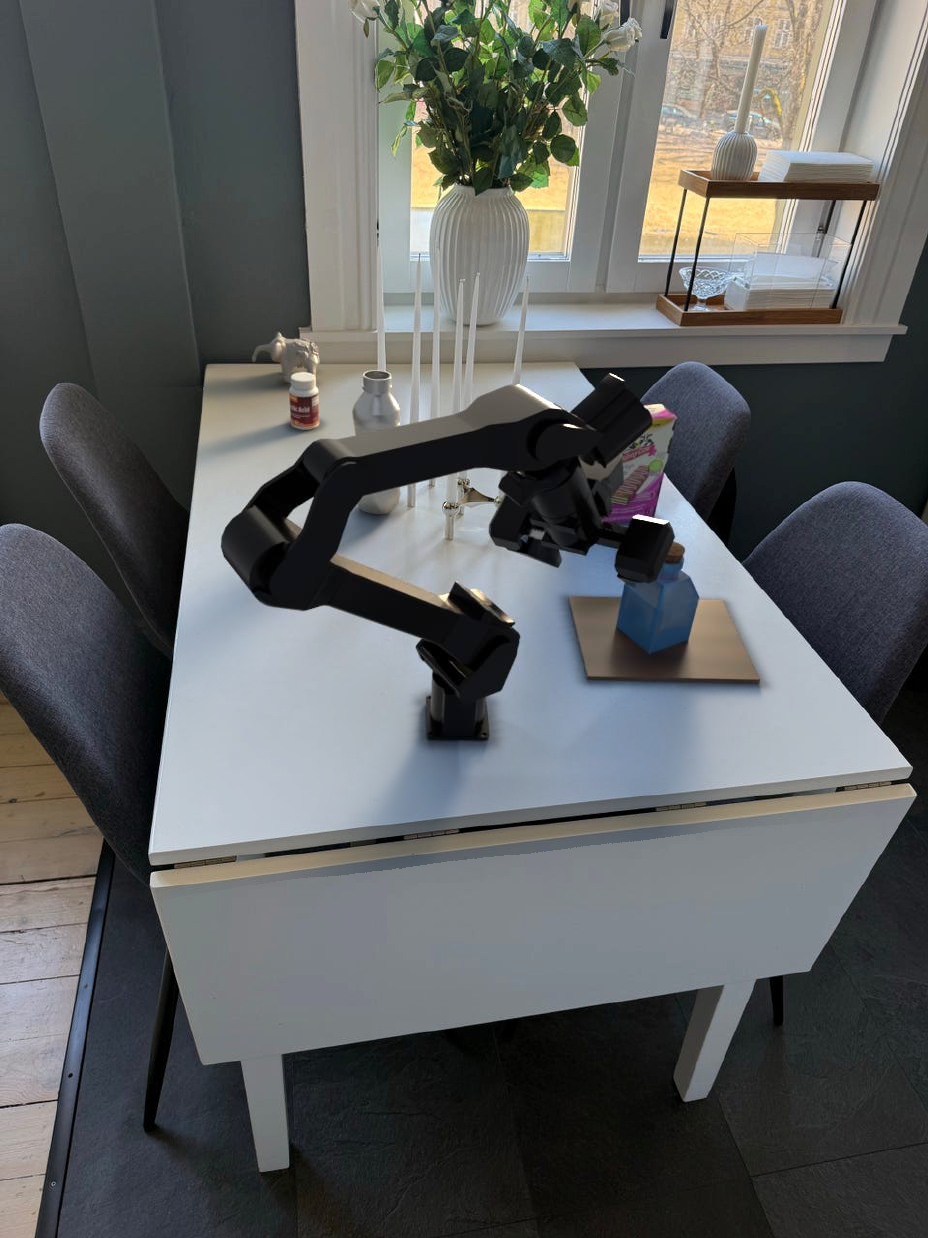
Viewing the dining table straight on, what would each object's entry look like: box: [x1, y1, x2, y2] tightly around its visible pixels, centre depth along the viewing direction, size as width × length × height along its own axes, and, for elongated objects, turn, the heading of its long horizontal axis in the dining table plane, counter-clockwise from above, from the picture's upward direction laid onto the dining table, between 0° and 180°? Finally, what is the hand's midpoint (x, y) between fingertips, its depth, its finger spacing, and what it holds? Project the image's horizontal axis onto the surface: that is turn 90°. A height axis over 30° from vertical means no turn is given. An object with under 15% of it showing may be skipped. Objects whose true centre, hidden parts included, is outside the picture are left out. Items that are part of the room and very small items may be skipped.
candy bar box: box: [603, 403, 678, 524], centre depth 130 cm, size 11×5×16 cm, turn 108°
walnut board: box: [567, 595, 761, 684], centre depth 110 cm, size 16×20×1 cm
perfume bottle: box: [616, 541, 700, 654], centre depth 107 cm, size 6×6×12 cm
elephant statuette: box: [251, 331, 321, 384], centre depth 168 cm, size 9×12×8 cm
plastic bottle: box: [351, 369, 402, 515], centre depth 126 cm, size 6×7×20 cm
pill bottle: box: [288, 371, 320, 431], centre depth 152 cm, size 5×5×8 cm
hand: (596, 573), depth 100 cm, fingers open, 9 cm apart
